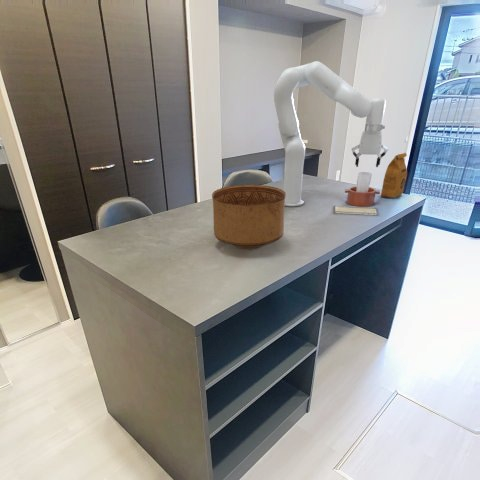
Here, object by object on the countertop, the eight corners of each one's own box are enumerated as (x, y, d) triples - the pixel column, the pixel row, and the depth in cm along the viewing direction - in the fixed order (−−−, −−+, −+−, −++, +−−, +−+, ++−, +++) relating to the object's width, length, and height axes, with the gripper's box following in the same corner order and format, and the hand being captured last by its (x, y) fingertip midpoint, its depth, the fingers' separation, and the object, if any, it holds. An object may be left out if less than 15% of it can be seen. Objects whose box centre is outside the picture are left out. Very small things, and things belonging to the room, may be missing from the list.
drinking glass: (351, 201, 192) (356, 172, 183) (363, 201, 192) (368, 171, 184) (356, 205, 186) (361, 175, 178) (368, 204, 186) (374, 174, 178)
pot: (217, 232, 155) (215, 185, 144) (280, 232, 154) (283, 184, 143) (211, 258, 132) (208, 204, 121) (285, 258, 131) (288, 203, 120)
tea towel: (335, 213, 175) (335, 212, 175) (335, 206, 185) (335, 205, 185) (377, 215, 171) (377, 214, 171) (375, 208, 181) (375, 207, 181)
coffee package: (405, 195, 200) (415, 153, 187) (393, 200, 193) (403, 156, 181) (389, 192, 206) (398, 151, 193) (377, 196, 199) (386, 154, 187)
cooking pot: (343, 205, 185) (345, 192, 181) (342, 198, 196) (344, 185, 192) (378, 207, 182) (381, 193, 178) (376, 200, 193) (378, 187, 189)
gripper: (391, 127, 171) (384, 165, 180) (354, 127, 174) (349, 164, 184) (393, 129, 165) (385, 168, 174) (354, 129, 168) (349, 167, 178)
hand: (366, 166), depth 179 cm, fingers open, 9 cm apart
